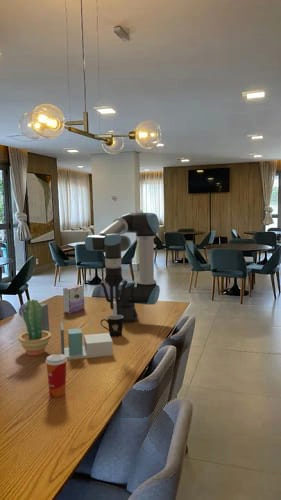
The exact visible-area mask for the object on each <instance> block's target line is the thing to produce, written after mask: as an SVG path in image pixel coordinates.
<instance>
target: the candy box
mask: <svg viewBox="0 0 281 500" xmlns="http://www.w3.org/2000/svg"><path fill="white" fill-rule="evenodd" d="M62 290H63V291H62V294H63V299H62V300H63V313H65V314H68V315H70V314H72V313H76V312H79V311H83V310H85V288H84V285H82V284H74V285H70V286H67V287H63V288H62Z"/></svg>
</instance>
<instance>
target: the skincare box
mask: <svg viewBox="0 0 281 500" xmlns="http://www.w3.org/2000/svg"><path fill="white" fill-rule="evenodd" d="M40 305H41V306H42V320H41V327H42V331H48V332H50V322H49V321H50V320H49V319H50V318H49V307H48V303H40Z"/></svg>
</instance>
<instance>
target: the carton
mask: <svg viewBox="0 0 281 500" xmlns="http://www.w3.org/2000/svg"><path fill="white" fill-rule="evenodd" d="M67 335H68V340H67V341H68V348H69V355H77V354H83V347H82V346H83V331H82V328H81V327H80V328H68V329H67Z"/></svg>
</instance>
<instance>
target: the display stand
mask: <svg viewBox="0 0 281 500" xmlns="http://www.w3.org/2000/svg"><path fill="white" fill-rule="evenodd" d="M59 324H60V347H61V348H60V349H61V350H60V351H61V354H63V355H65V356H66V359H67V361H69V360H71V361H72V360H79V359H89V358H97V357H98V358H99V357H109V356H114V347H113V346H114V345H113V344H114V342H113V341H114V340H113V339H112V337H111V336H110V333H109V332H105V333H94V334H84V335H83V342H84V345H82V347H83V354H77V355H69V347H65V332H64V331H65V330H64V323H63V321H60V323H59Z"/></svg>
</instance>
